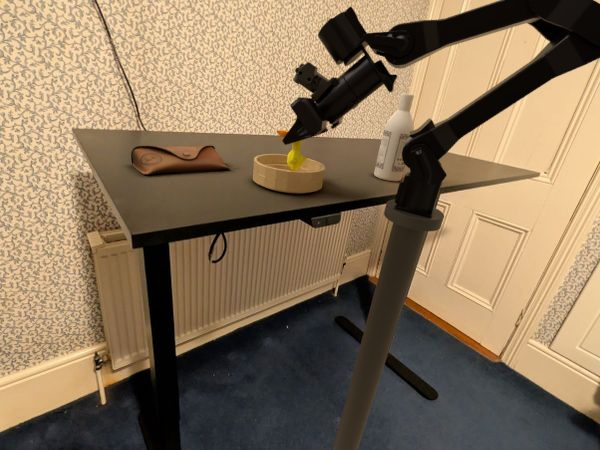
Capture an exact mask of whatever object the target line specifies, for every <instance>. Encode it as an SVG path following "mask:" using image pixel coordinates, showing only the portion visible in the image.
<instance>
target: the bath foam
mask: <svg viewBox="0 0 600 450" xmlns="http://www.w3.org/2000/svg"><path fill="white" fill-rule="evenodd" d="M414 97H415V96H414V94H410V93H401V94H400V97H399V100H398V105H397V110H395V112H394V113H393V114H392V115H391V116H389V118H388V120H387V121H386V123H385V125H384V128H383V132H382V136H381V140H380V141H381V142H380V145H379V149H378V154H377V158H376V163H375V167H374V172H373V175H374V177H375V178H377V179H380V180H384V181H388V182H401V181H402V178H403V174H404V171H405V168H406V167H405V166H406V165H405V164H404V162H403V160H402V149H403V144H404V142H405V140H406V139H407V138H408V137H409V132H410V131H413V130H415V124H414V121H413V117H412V114H411V109H412V106H413V101H414Z"/></svg>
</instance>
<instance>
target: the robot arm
mask: <svg viewBox="0 0 600 450" xmlns="http://www.w3.org/2000/svg"><path fill="white" fill-rule="evenodd" d="M525 24H528V25H529V26H531V27H533V28H534V29H535V30H536V31H537V32H538V33H539V34H540V35H541V36H542V37H543V38H544V39H545V40H546V41H548V43H547V44H546V45H545V46H544V47H543V48H542V49H541V50H540V52H539V53H537V55H536V56H535V57H534V58H533V59H531V60H530V61H529V62H527V63H526V64H524V65H523V66H522V67H520V68H519V69H517V70H516V71H514V72H513V73H511V74H510V75H509V76H507V77H506V78H504V79H503V80H501V81H500V82H498V83H497V84H495V85H494V86H493V87H491V88H490V89H488V90H487V91H485V92H484V93H482V94H480V95H479V96H478V97H476V98H475V99H473V100H472V101H471V102H469V103H468V104H466V105H465V106H464V107H462V108H460V109H459V110H458V111H456V112H455V113H453V114H452V115H450V116H449V117H447V118H444V119H443V120H441V121H438V122H436V123H434V120H433V119H431V118H430V117H429V118H427V119H426V120H425V121H424V122H423V123H422V124H421V125H420V126H419V127H417V128H416V129H414V130H413V131H410V132H409V137H408V138H407V139H406V140H405V142H404V144H403V149H402V160H403V162H404V164H405V166H406V167H407V168H408V169H409V172H408V171H407V173H405V175H404V178H403V179H401V180H400V181H399V184H398V187H397V191H396V195H395V198H394V199H395V203H396V205H395V209H397V210H401V211H405V212H408V213H412V214H416V215H419V216H423V217H427V218H432V215H433V212H434V209H435V208H436V207H435V206H436V203H437V200H438V197H439V194H440V191H441V187H442V185H443V181H444V180H445V179H446V177H447V172H446V171H445V169H444V166H443V164H442V163H441V161H440V160H441V159H442V158H443V157H444V156H445V155H447V153H449V151H451V149H452V148H453V147H454V146H455V145H456V144H457V143H458V142H459V141H460V140H461V139H462V138H464V136H465V137H466V135H468V134H470V133H471V132H473V131H474V130H476V129H477V128H479V127H480V126H482V125H483V124H485V123H486V122H488V121H490V120H491V119H493V118H494V117H495V116H497V115H499V114H501V113H502V112H504V111H505V110H506V109H508V108H510V107H512V106H513V105H514V104H516V103H518V102H519V101H521V100H522V99H524V98H525V97H527V96H528V95H530V94H532V93H533V92H535V91H536V90H538V89H539V88H541V87H542V86H544V85H545V84H547V83H549V82H550V81H552V80H554V79H555V78H558V77H560V76H562V75H565V74H567V73H570V72H572V71H575V70H577V69H579V68H581V67H584V66H586V65H588V64H590V63H592V62H594V61H597V60H599V59H600V2H598V1H596V0H496V1H494V2H491V3H488V4H484V5H480V6H479V7H475V8H472V9H469V10H466V11H463V12H461V13H457V14H454V15H452V16H448V17H446V18H439V19H421V20H416V21H409V22H402V23H398V24H396V25H394V26H392V27H391V28H390V29H389V30H388V31H377V32H367V31H366V29H365V28H364V26H363V25H362V23H361V21H360V20H359V17H358V14H357V13H356V11H355V10H354V8H353V7H352V6H349V7H347V9H346V10H345V11H341V12H340V13H338V14H337V15H335V16H334V17H331V18H329V19H327V21H326V22H325V23H324V24H323V26H322V27H321V28H320V30H319V31H318V34H317V38H318V39H319V41H320V42H321V43H322V45H323V46H324V48H325V49H326V51H327V53H328V54H329V55H330V57H331V59H332V60H333V61H334V63H335V64H336V66H339V65H340V66H341V65H342V64H343V65H344V66H345V67H348V66H350V65H351V66H350V67H349V68H347V69H346V70H345V71H344V72H343V73H342V74H341V75H339V76H338V77H336V76H335V77H334V76H333V77H331V78H330V79H329V78H327V77H325V76H324V75H323V74H322V73H320V72H318V66H316V65H314V64H313V63H312V62H310V61H307V62H306V63H303V62H302V63H300V65H299V66H298V67H296V68H295V70H294V73H295V75H294V76H293V79H292V81H293V82H294V83H295V84H297V85H300V86H302V87H303V88H304V89H305V90H307V91H309V92H311V94H310V97H306V96H305V97H304V96H303V97H302V96H298V97H297V98H296V99H294V101H292V102H291V103H290V109H291V110H292V112H293V113H294V114H295V116H296V119H297V120H296V121H295V120H294V121H295V123H294V122H293V124H292V126H291V127H290V128H289V131H288V133H287V134H286V136H285V137H282V143H283V144H284V145H285V146H287V145H290V144H292V143H294V142H297V141H301V140H302V141H304V140H308V139H310V138H314V137H317V136H320V135H321V134H324V133H327V132H329V129H328V128H327V124H330V125H331V126H330V129H331V130H334V129H336V128H337V127H338V126H340V125H341V124H343V118H344V116H346V115H347V114H348V113H349V112H351V111H352V110H355V109H356V108H358V106H359V105H360V104H361V103H362V102H363V101H365V100H366V99H367V98H368V97H370V96H371V95H372V94H373V93H375V92H376V91H377V90H378V89H380V88H381V87H383V86H384V87H385V89H386V90H387V91H388V92H389V93H394V89H395V84H396V81H397V80H398V75H397V74H391V73H390V71H389V70H388V68H387V67H386V65H385V64H384V62H383V61H382V60H381V59H379V60H377V61H374V59H373V58H372V57H371V55H370V54H369V52H368V51H367V49H366V48H367V47H369V48H370V50H371V51H372V53H374V55H377V56H380V57H383V58H384V59H385V61H386V62H387V64H388V65H389V66H391V67H392V68H394V69H398V70H400V69H405V68H408V67H410V66H412V65H414V64H417V63H419V62H420V61H422V60H425V59H426V58H428V57H430V56H432V55H434V54H436V53H437V52H440V51H441V50H443V49H445V48H449V47H452V46H455V45H459V44H462V43H466V42H469V41H471V40H476V39H479V38H481V37H485V36H488V35H492V34H495V33H498V32H502V31H505V30H508V29H511V28H515V27H518V26H521V25H525ZM362 55H363V56H362ZM361 56H362V57H361ZM357 59H358V60H357ZM356 60H357V61H356ZM355 61H356V62H355ZM354 62H355V63H354Z"/></svg>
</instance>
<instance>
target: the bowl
mask: <svg viewBox="0 0 600 450" xmlns="http://www.w3.org/2000/svg"><path fill="white" fill-rule="evenodd" d="M287 158H288V154H283V153H282V154H281V153H266V154H259V155H256V156H254V157H253V163H252V164H253V165H252V175H251V176H252V181H253V182H254V183H256V185H259V186H261V187H263V188H265V189H268V190H271V191H275V192H279V193H285V194H307V193H314V192H318V191H319V190H321V189H322V188H323V184H324V178H325V172H326V166H325V164H323V163H322V162H319V161H317V160H314V159H311V158H309V157H308V158H307V159H306V160H305V162H304V163H303V164H302V165H301V166H300V168H299V169H298V170H295V171H292V169H290V168H289V165H288V163H287Z"/></svg>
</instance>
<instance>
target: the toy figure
mask: <svg viewBox="0 0 600 450" xmlns="http://www.w3.org/2000/svg"><path fill="white" fill-rule="evenodd" d="M296 120H297V118H293V124H294V123H295V121H296ZM289 130H290V129H289ZM289 130H287V129H277V130H276V133H277V135H278V136H279V137H280V138H284V137H285V136H286V134H287V133H288V131H289ZM302 143H303V140H301V141H297V142H294V143H291V144H292V145H291V146H292V148H291V150H290V151H289V152H288V154H287V155H288V158H287V163H288V165H289V168H290V169H292V171H295V170H298V169H299V168H300V166H301V165H302V164H303V163H304V162H305V160H306V159H307V158H308V159H309V157H308V156H307V157H306V156H305V157H304V156H303V153H302V152H301V147H302Z"/></svg>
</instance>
